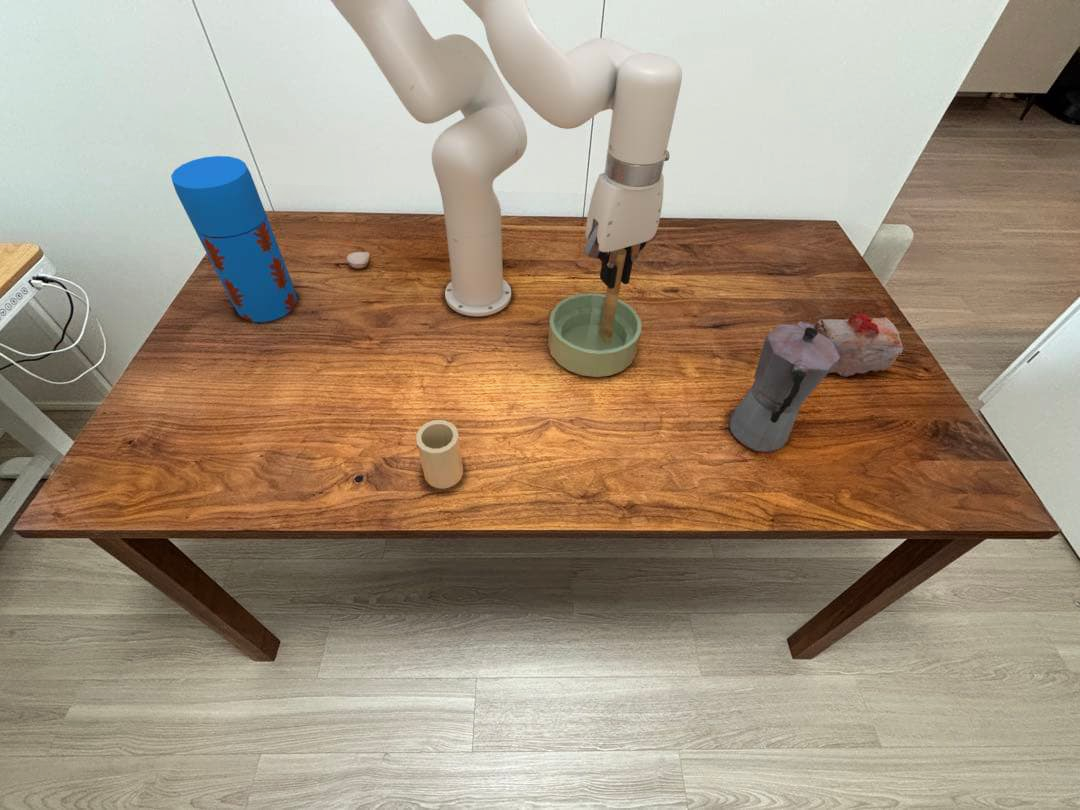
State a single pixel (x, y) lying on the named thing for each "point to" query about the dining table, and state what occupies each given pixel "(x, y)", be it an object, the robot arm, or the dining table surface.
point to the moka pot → (782, 385)
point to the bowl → (592, 336)
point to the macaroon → (358, 259)
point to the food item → (862, 343)
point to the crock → (440, 453)
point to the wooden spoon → (612, 300)
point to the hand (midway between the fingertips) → (614, 280)
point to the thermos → (236, 235)
